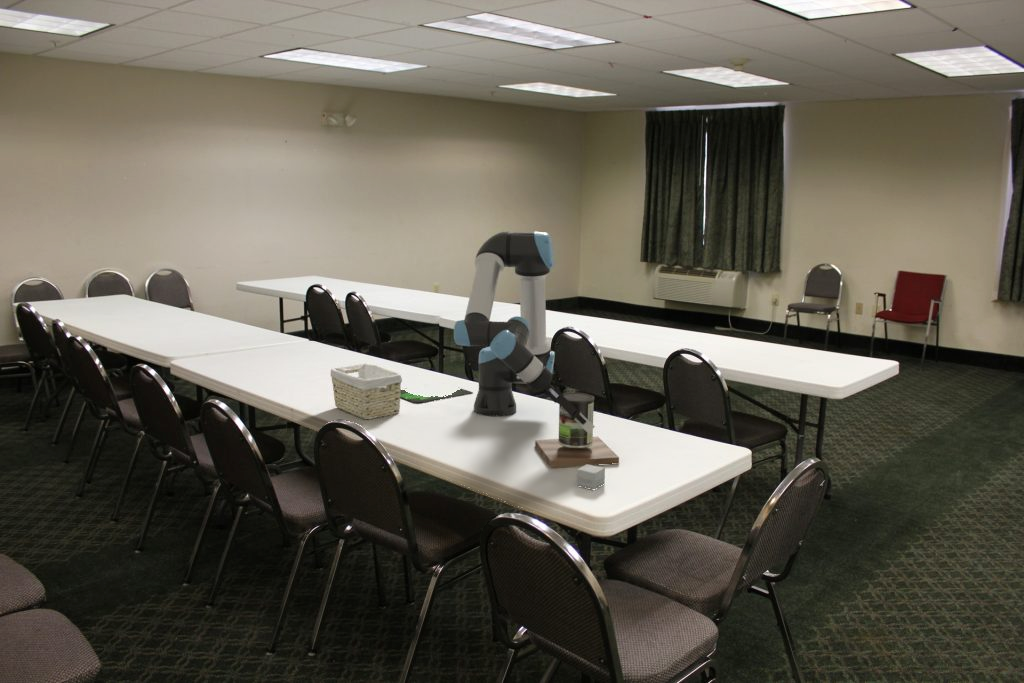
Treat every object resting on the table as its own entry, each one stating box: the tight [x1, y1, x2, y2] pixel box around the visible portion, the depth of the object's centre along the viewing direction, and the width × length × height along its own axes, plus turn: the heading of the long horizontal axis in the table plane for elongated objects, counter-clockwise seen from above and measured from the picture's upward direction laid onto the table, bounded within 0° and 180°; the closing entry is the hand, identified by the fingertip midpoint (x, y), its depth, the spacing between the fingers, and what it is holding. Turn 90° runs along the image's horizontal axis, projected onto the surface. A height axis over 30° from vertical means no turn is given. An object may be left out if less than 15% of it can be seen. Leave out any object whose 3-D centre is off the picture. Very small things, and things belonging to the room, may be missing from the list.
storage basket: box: [330, 362, 403, 420], centre depth 278 cm, size 24×16×15 cm
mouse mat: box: [400, 388, 474, 404], centre depth 306 cm, size 27×22×1 cm
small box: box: [575, 464, 606, 490], centre depth 208 cm, size 6×6×5 cm
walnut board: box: [534, 436, 620, 469], centre depth 233 cm, size 20×20×2 cm
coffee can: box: [558, 392, 595, 448], centre depth 231 cm, size 10×10×14 cm
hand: (586, 424), depth 232 cm, fingers closed on coffee can, 10 cm apart
